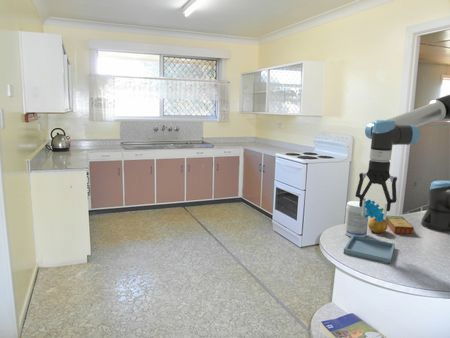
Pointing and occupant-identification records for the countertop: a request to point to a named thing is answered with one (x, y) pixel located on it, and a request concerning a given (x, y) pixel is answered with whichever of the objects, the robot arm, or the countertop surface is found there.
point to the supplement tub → (355, 220)
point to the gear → (374, 211)
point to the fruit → (377, 225)
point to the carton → (399, 225)
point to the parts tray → (370, 249)
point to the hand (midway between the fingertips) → (373, 216)
